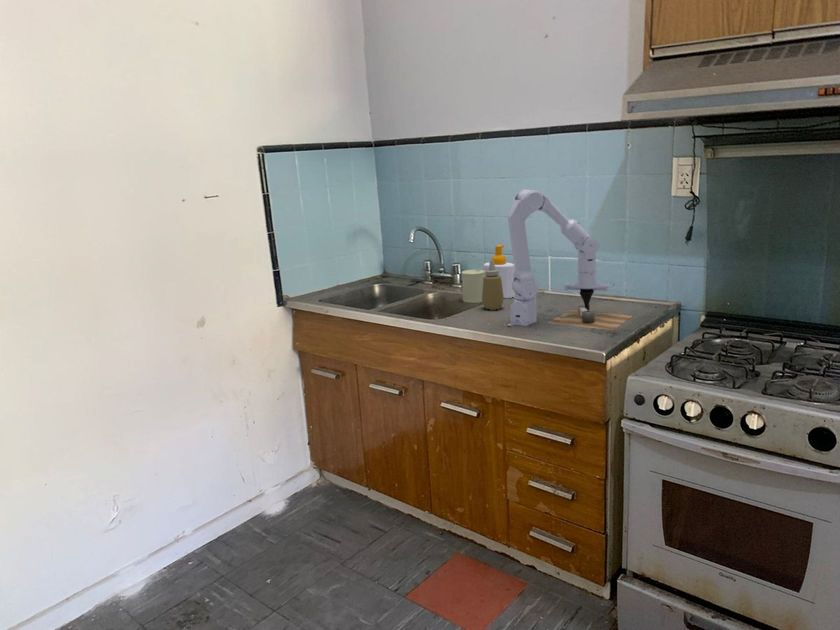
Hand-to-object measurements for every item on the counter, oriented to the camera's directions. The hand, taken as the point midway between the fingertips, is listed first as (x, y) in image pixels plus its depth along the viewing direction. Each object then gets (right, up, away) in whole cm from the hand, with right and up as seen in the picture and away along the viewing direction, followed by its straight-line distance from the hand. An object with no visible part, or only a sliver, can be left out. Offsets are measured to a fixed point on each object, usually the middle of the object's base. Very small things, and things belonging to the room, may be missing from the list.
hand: (586, 311), depth 213 cm
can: (-35, +4, +36) cm, 50 cm away
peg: (-2, -2, -4) cm, 5 cm away
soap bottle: (-24, +6, +40) cm, 47 cm away
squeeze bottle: (-29, +1, +21) cm, 36 cm away
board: (0, -4, -5) cm, 6 cm away
